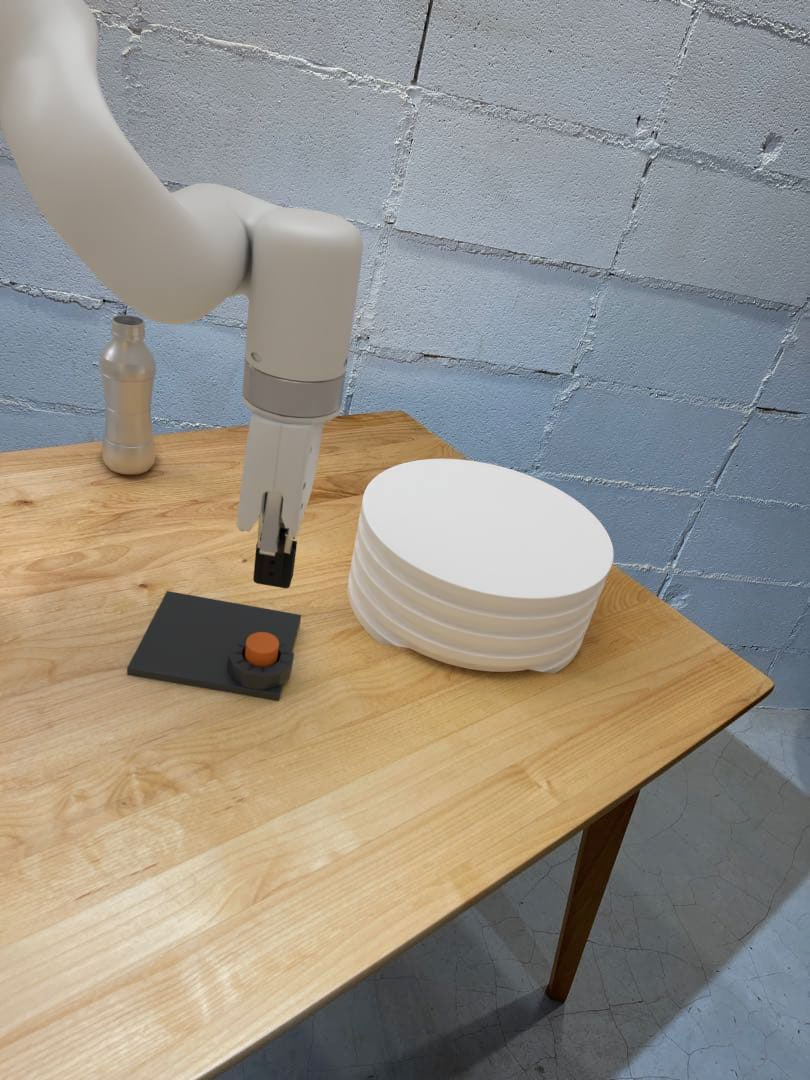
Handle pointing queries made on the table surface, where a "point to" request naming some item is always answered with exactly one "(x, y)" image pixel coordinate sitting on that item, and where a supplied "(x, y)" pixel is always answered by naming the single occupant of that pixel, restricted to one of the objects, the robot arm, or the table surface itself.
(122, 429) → the plastic bottle
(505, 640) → the plate stack
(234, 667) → the scale
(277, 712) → the table surface
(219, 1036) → the table surface
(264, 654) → the button
